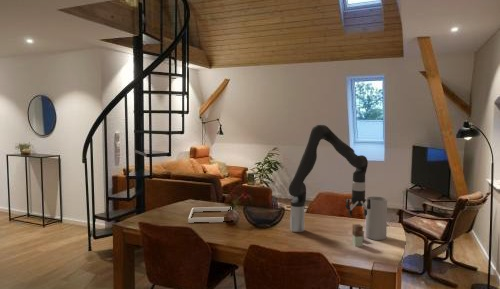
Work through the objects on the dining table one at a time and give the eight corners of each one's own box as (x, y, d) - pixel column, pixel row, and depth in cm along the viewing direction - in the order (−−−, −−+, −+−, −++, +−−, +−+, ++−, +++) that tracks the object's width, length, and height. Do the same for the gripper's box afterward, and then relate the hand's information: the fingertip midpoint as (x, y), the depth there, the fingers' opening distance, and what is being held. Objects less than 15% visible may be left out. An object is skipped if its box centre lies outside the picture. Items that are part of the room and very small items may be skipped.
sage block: (355, 246, 210) (355, 236, 210) (352, 243, 215) (352, 234, 214) (362, 246, 211) (362, 236, 210) (359, 243, 215) (359, 234, 215)
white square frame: (188, 222, 260) (188, 218, 260) (192, 211, 292) (192, 207, 292) (232, 221, 262) (232, 217, 262) (231, 210, 294) (231, 206, 294)
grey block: (357, 241, 219) (357, 232, 219) (353, 239, 223) (353, 229, 223) (363, 240, 220) (363, 231, 220) (359, 238, 225) (359, 229, 224)
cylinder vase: (361, 236, 228) (362, 198, 226) (372, 232, 236) (373, 195, 234) (379, 241, 218) (379, 201, 216) (390, 237, 226) (391, 198, 224)
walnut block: (355, 236, 210) (355, 226, 209) (352, 234, 214) (352, 224, 214) (362, 236, 210) (362, 226, 210) (359, 234, 215) (359, 224, 214)
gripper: (349, 190, 206) (348, 218, 207) (373, 190, 207) (372, 217, 208) (344, 188, 213) (344, 214, 215) (367, 187, 214) (367, 214, 216)
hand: (357, 216), depth 211 cm, fingers open, 8 cm apart
